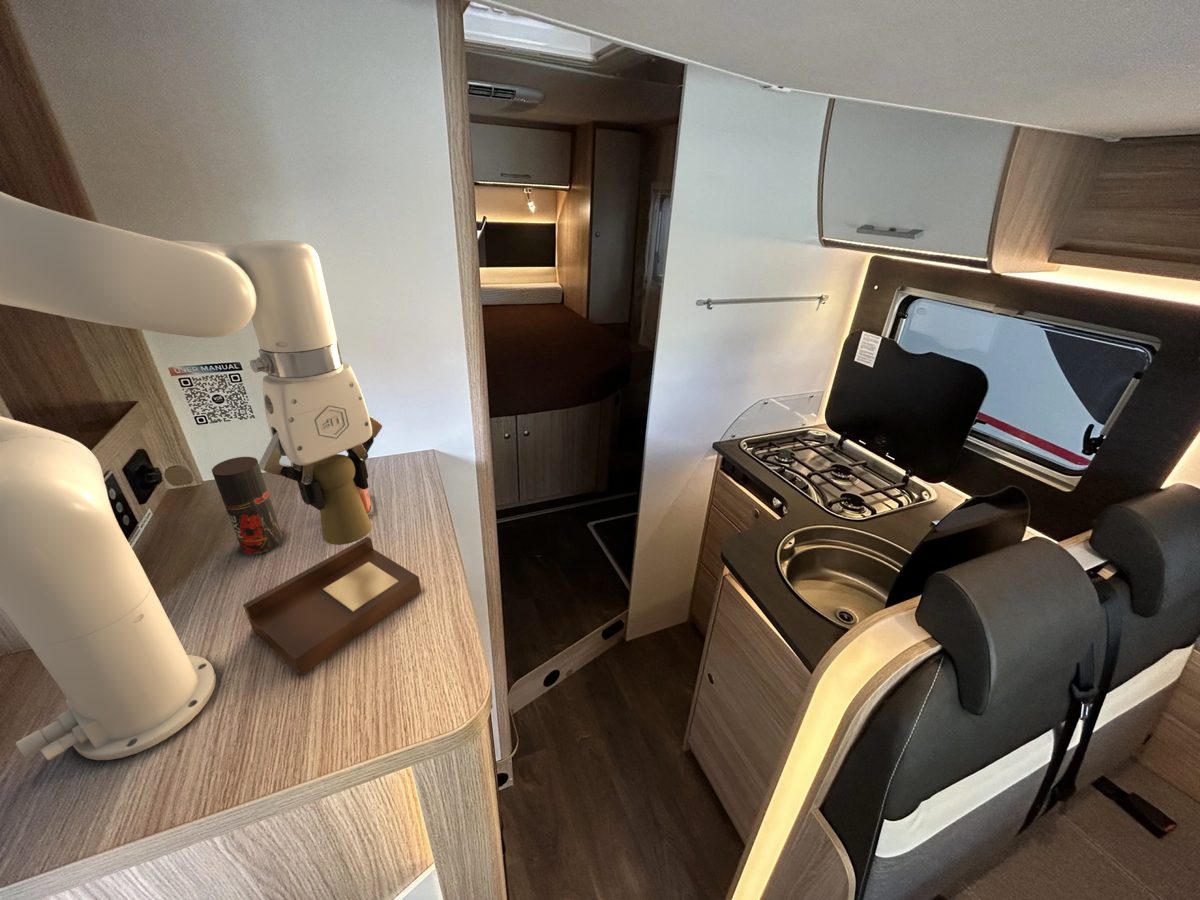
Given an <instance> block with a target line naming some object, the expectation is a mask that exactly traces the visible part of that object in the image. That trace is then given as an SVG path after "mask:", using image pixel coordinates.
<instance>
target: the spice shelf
mask: <svg viewBox="0 0 1200 900" xmlns="http://www.w3.org/2000/svg"><path fill="white" fill-rule="evenodd" d="M420 593H422V588H421V582H420V578H419V576H418V575H417V574H415V573H413V572H412V571H410V570H409V569H407V568H405V567H404V566H402V565H400V564H399V563H397V562H396V561H394V560H393V559H391V558H389V557H387V556H386V555H384V554H382V553H381V552H380V551H378V550H376V549H374V546H373V541H372V538H371V537H369V536H365V537H363V538H362V539H360V540H358V541H356V542H354V543H352V544H351V545H349V546H348V547H345V548H344V549H341V550H340V551H338V552H337V553H334V554H333V555H331V556H329V557H327V558H326V559H324V560H322V561H320V562H318V563H316V564H314V565H313V566H311V567H309V568H307V569H305V570H303V571H302V572H300V573H298V574H296V575H294V576H293V577H291V578H289V579H287V580H285V581H284V582H282V583H280V584H278V585H276V586H274V587H272V588H271V589H268V590H267V591H266V592H264V593H262V594H260V595H258V596H256V597H254V598H253V599H251V600H249V601H247V602H245V603H244V604H243V605H242V606H243V609H244V610H245V613H246V616H247V619H248V621H249V623H250V626H251V628H252V630H253V633H254V634H255V635H256V636H257V637H258V638H260V639H261V640H262V641H263V642H264V643H265V644H266V645H268V647H270V648H271V650H273V651H274V652H275V653H276V654H277V655H278V656H279V657H280V658H281V659H283V661H285V662H286V663H287V664H288V665H289V666H290V667H291V668H292V669H293V670H294V671H295V672H296V673H297V674H299V676H301V677H303V675H305V674H306V673H308V672H310V671H311V670H312V669H314V668H315V667H316V666H318V665H319V664H320V663H322V662H323V661H325V660H327V659H328V658H329V657H331V656H332V655H334V654H335V653H336V652H338V651H339V650H340V649H342V648H343V647H345V646H346V645H348V644H349V643H351V642H352V641H353V640H355V639H356V638H358V637H360V635H362V634H363V633H365V632H366V631H368V630H369V629H371V628H372V627H374V626H375V625H376V624H378V623H379V622H381V621H382V620H383V619H385V618H386V617H388V616H389V615H391V614H392V613H393V612H394V611H396V610H397V609H399V608H400V607H402V606H404V604H406V603H408V602H409V601H410V600H412V599H413V598H415V597H416V596H418V595H419V594H420Z"/></svg>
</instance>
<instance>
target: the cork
mask: <svg viewBox="0 0 1200 900" xmlns="http://www.w3.org/2000/svg"><path fill="white" fill-rule="evenodd" d="M347 456H348V455H345V454H340V453H338V454H335V455H333V456H330V457H328V458H325V459H322V460H320V461H317V462H314V469H313V479H315V480H317V481H318V482H319V485H320V488H321V492H322V496H323V499H324V503H325V507H324V509H322V510H319V515H320V516H319V517H320V524H321V525H320V526H321V535H322V539H323V541H324V542H326V543H327V544H330V545H333V546H335V545H337V546H342V545H348V544H353V543H356V542H358V541H360V540H362V539H364V538H366V537H367V535H369V533H370V532H371V531H372V527H373V525H372V522H371V520H370V517H368V515H367V512H366V510H365V508H364V505H363V503H362V500H361V498H360V495H359V493H358V491H357V488H356V486H355V483H354V481H353V478H354V476H355V466H354V463H353V461H352V460H351V459H350V458H349V457H347Z"/></svg>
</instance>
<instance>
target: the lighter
mask: <svg viewBox="0 0 1200 900" xmlns="http://www.w3.org/2000/svg"><path fill="white" fill-rule="evenodd" d="M356 488H357V491H358V493H359V495H360V498H361V500H362V503H363V505H364V508H365V510H366V512H367V515H368V517H369V518H371V517H372V515H373V511H374V505H373V500H372V498H371V495H370V493H369V487H368V488H367V489H361V488H359V487H357V486H356Z"/></svg>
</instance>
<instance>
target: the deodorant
mask: <svg viewBox="0 0 1200 900" xmlns="http://www.w3.org/2000/svg"><path fill="white" fill-rule="evenodd" d="M259 463H260V462H259V460H258V459H257V458H256V457H253V456H238V457H237V456H236V457H233V458H229V459H226V460H223V461H221V462H219V463H217V464H216V465H214V466H213V467H212V469H211V473H212V475H213V478H214V481H215V484H216V486H217V489H218V491H219V494H220V497H221V499H222V502H223V504H224V507H225V510H226V512H227V515H228V517H229V520H230V523H231V525H232V528H233V530H234V534H235V536H236V538H237V539H236V540H237V541H238V543H239V546H240V549H241V552H242V553H243V554H247V555H261V554H264V553H267V552H270V551H272V550H274V549H275V548H277V547H278V546H280V545H281V544H282V542H283V540H284V537H283V533H282V530H281V527H280V524H279V522H278V521H279V520H278V518H277V515H276V512H275V509H274V505H273V503H272V500H271V497H270V494H269V490H268V488H267V485H266V481H265V479H264V476H263V473H262V469H260V468H259Z"/></svg>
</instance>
